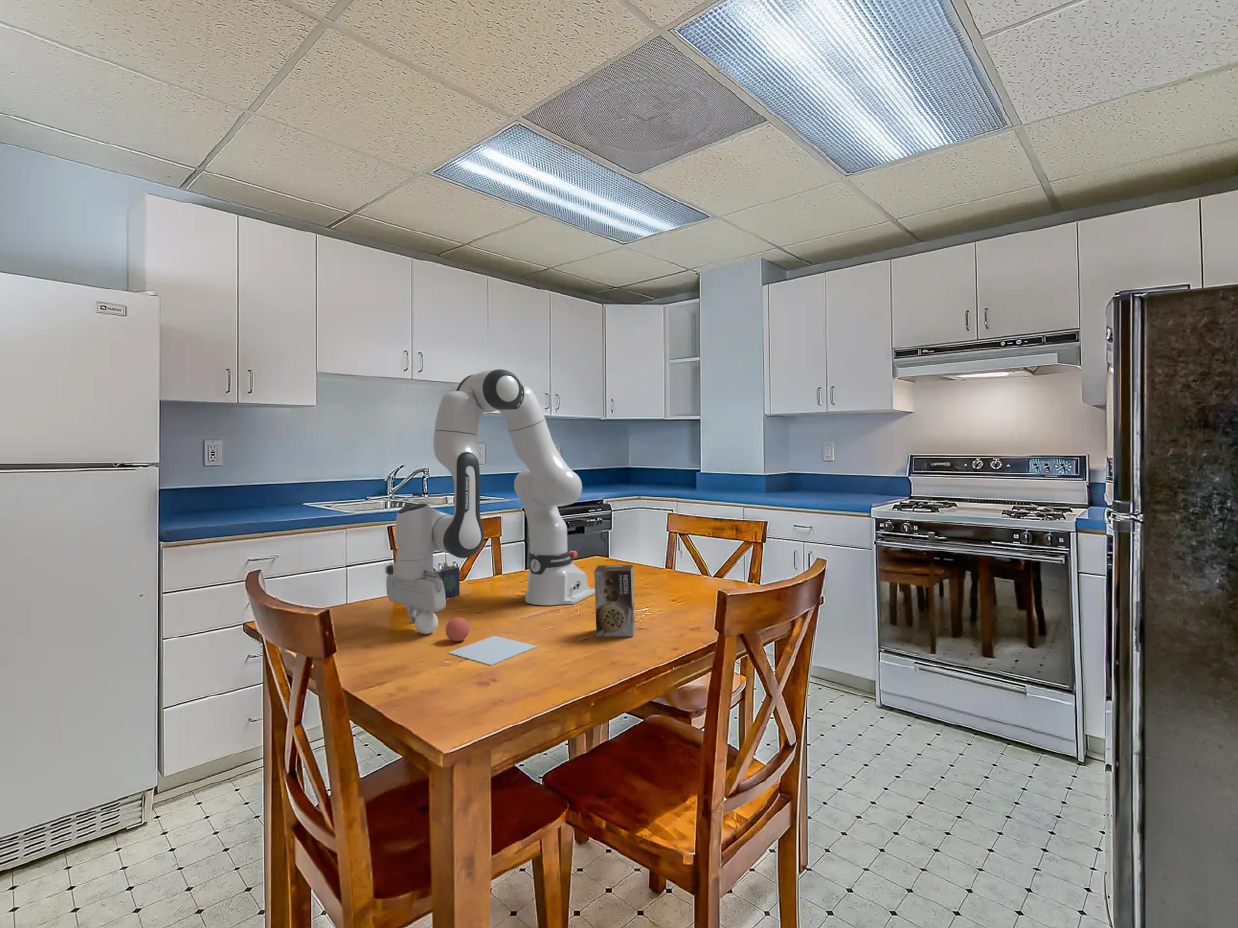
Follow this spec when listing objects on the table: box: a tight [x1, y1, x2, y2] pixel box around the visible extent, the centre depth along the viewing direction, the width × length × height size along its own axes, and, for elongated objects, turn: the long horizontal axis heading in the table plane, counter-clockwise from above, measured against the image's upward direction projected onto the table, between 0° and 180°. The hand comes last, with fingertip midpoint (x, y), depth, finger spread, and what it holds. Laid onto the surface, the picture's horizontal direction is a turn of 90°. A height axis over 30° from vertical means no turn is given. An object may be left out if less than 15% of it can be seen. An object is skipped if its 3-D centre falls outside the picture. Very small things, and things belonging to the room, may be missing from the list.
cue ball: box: [414, 610, 439, 635], centre depth 155 cm, size 6×6×6 cm
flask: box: [433, 562, 461, 600], centre depth 190 cm, size 9×3×11 cm, turn 146°
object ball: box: [445, 616, 470, 642], centre depth 149 cm, size 6×6×6 cm
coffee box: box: [593, 564, 636, 638], centre depth 153 cm, size 9×6×16 cm
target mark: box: [447, 635, 538, 666], centre depth 142 cm, size 14×14×1 cm
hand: (416, 623), depth 159 cm, fingers closed
